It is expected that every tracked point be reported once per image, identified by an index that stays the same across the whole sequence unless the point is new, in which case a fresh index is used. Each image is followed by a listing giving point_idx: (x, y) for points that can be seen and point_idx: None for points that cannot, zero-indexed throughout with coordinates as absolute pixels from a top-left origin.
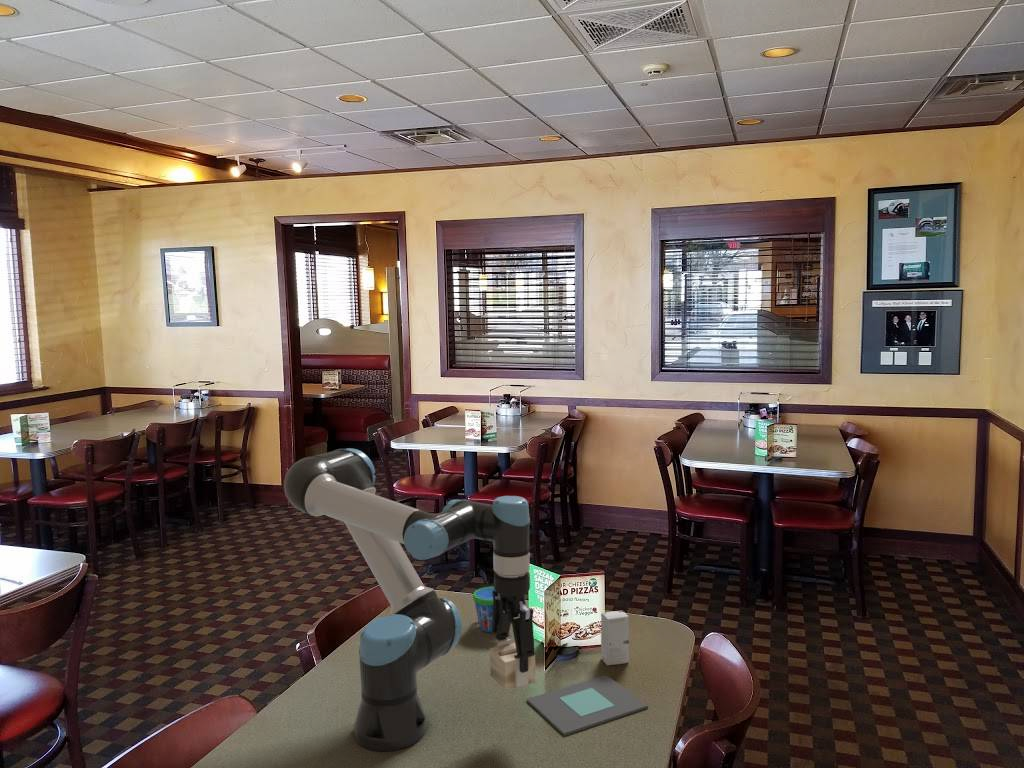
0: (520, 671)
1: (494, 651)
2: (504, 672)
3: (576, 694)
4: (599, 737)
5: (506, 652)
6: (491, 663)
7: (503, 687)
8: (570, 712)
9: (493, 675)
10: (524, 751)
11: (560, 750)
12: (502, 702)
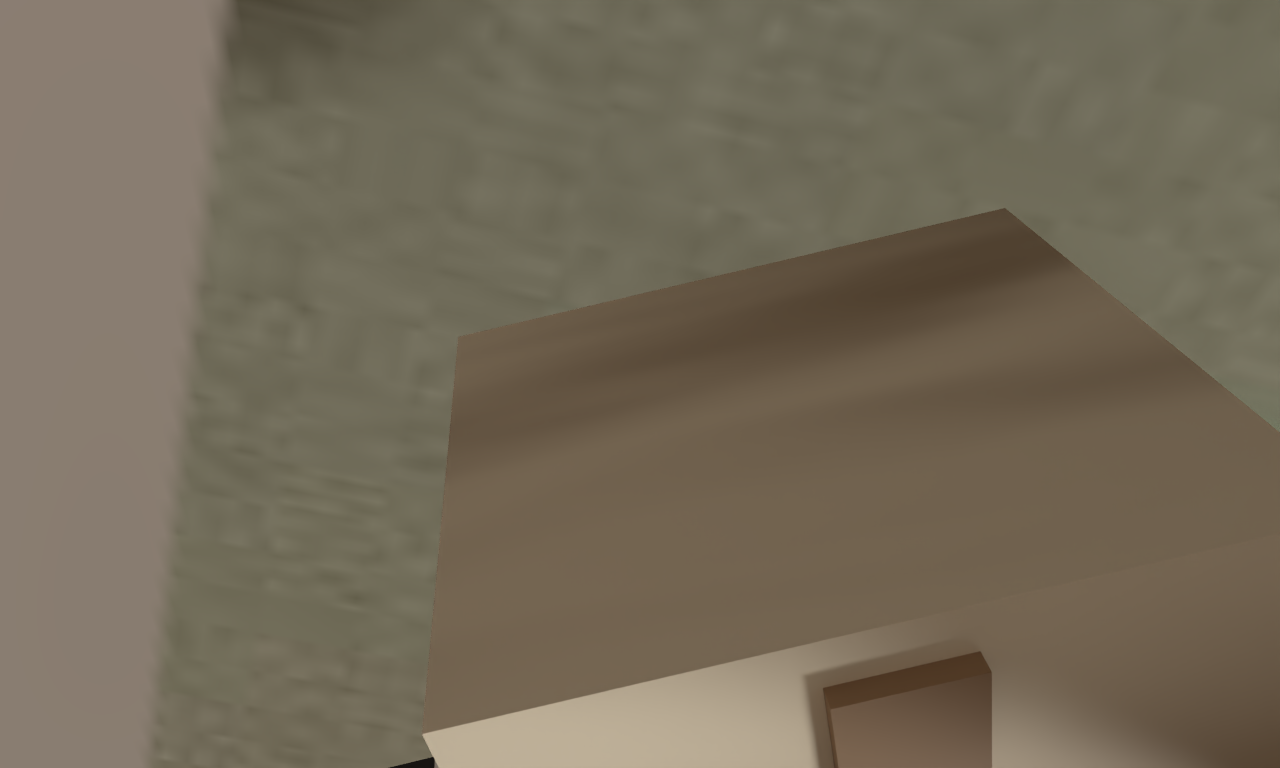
0: (429, 761)
1: (1153, 584)
2: (479, 517)
3: None
4: (409, 696)
5: None
6: (1079, 329)
7: (526, 328)
8: None
9: (911, 257)
10: (326, 221)
11: (298, 468)
12: (1093, 215)
